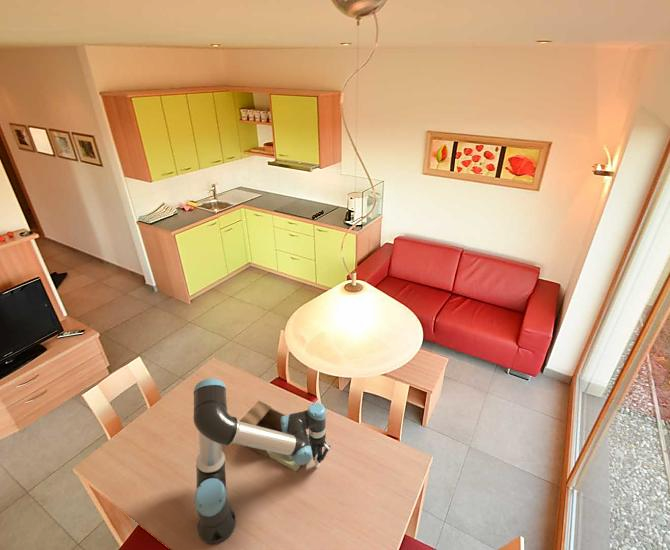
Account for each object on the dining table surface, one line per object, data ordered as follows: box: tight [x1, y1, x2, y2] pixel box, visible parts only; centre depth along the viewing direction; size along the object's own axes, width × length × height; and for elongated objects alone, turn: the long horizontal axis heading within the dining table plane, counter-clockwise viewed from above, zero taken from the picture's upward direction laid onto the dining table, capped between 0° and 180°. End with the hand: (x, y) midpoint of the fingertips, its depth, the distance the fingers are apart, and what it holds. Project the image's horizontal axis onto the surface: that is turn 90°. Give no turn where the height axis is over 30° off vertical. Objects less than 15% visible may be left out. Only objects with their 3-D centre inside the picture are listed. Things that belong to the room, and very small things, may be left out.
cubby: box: [239, 400, 286, 459], centre depth 195 cm, size 17×17×15 cm
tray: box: [267, 451, 313, 472], centre depth 190 cm, size 14×20×5 cm
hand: (317, 465), depth 185 cm, fingers closed
